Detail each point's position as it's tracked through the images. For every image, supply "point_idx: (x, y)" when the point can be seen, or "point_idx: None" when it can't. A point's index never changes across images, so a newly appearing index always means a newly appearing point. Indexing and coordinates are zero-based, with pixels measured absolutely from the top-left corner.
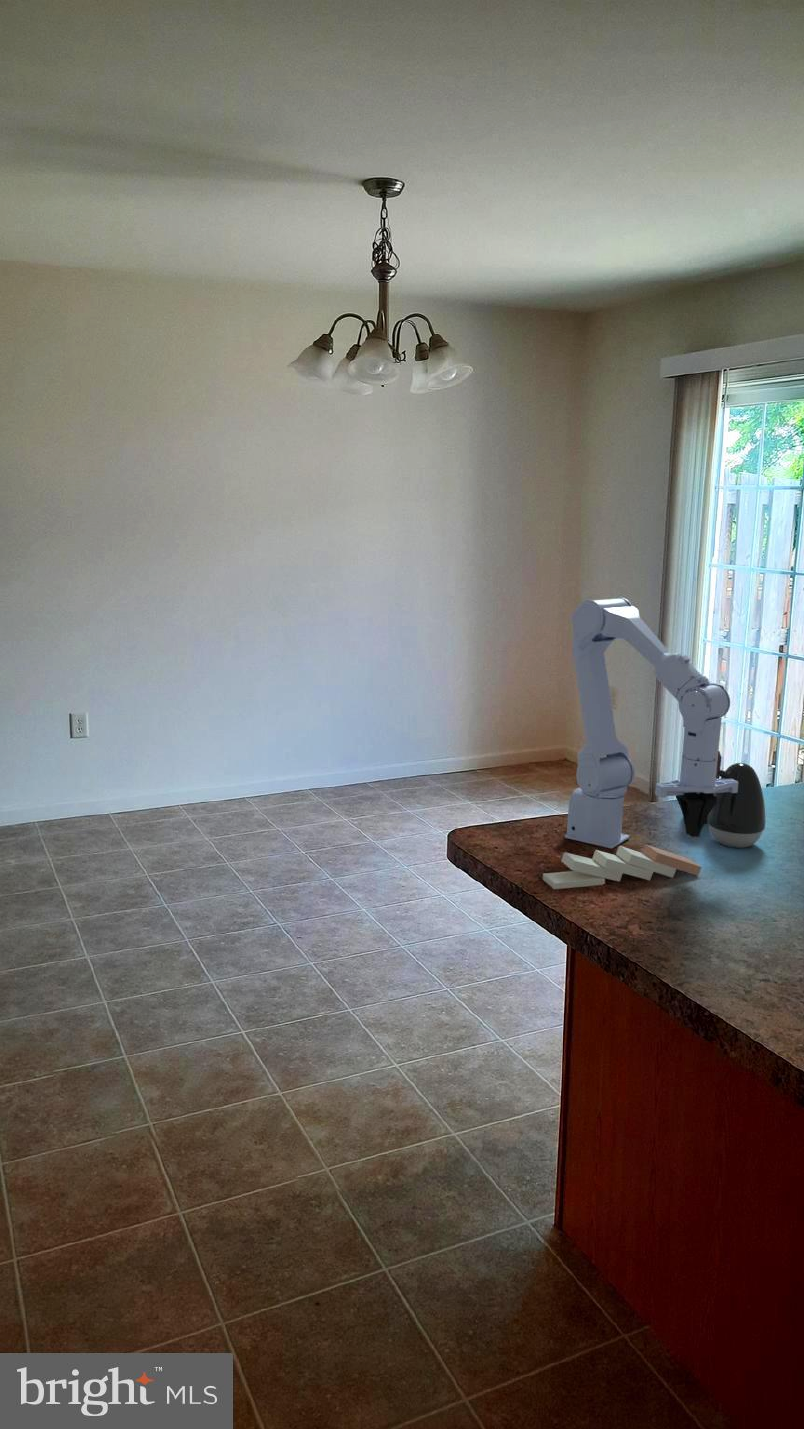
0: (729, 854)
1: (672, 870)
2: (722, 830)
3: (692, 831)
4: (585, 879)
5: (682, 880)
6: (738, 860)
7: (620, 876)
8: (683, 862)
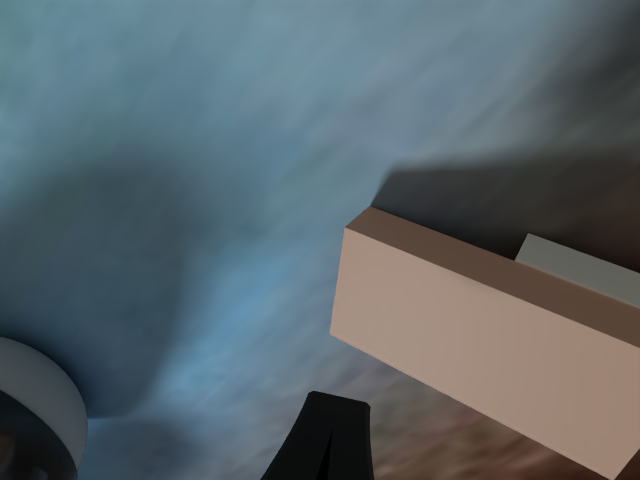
0: (87, 319)
1: (541, 258)
2: (48, 426)
3: (369, 445)
4: None
5: (502, 189)
6: (77, 265)
7: None
8: (469, 273)
